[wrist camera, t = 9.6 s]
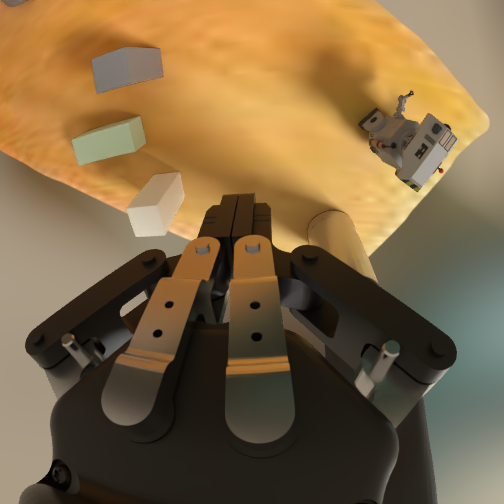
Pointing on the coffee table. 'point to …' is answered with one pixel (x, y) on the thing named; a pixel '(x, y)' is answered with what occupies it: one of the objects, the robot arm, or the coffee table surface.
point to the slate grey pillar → (126, 67)
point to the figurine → (409, 143)
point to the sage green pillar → (109, 141)
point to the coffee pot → (13, 2)
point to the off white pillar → (156, 205)
